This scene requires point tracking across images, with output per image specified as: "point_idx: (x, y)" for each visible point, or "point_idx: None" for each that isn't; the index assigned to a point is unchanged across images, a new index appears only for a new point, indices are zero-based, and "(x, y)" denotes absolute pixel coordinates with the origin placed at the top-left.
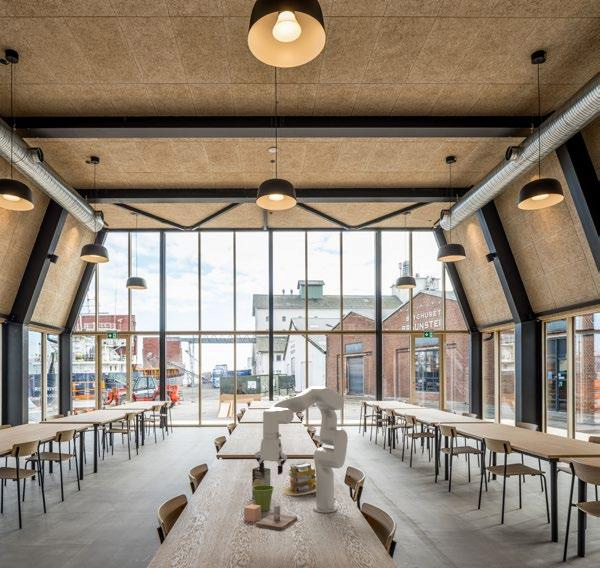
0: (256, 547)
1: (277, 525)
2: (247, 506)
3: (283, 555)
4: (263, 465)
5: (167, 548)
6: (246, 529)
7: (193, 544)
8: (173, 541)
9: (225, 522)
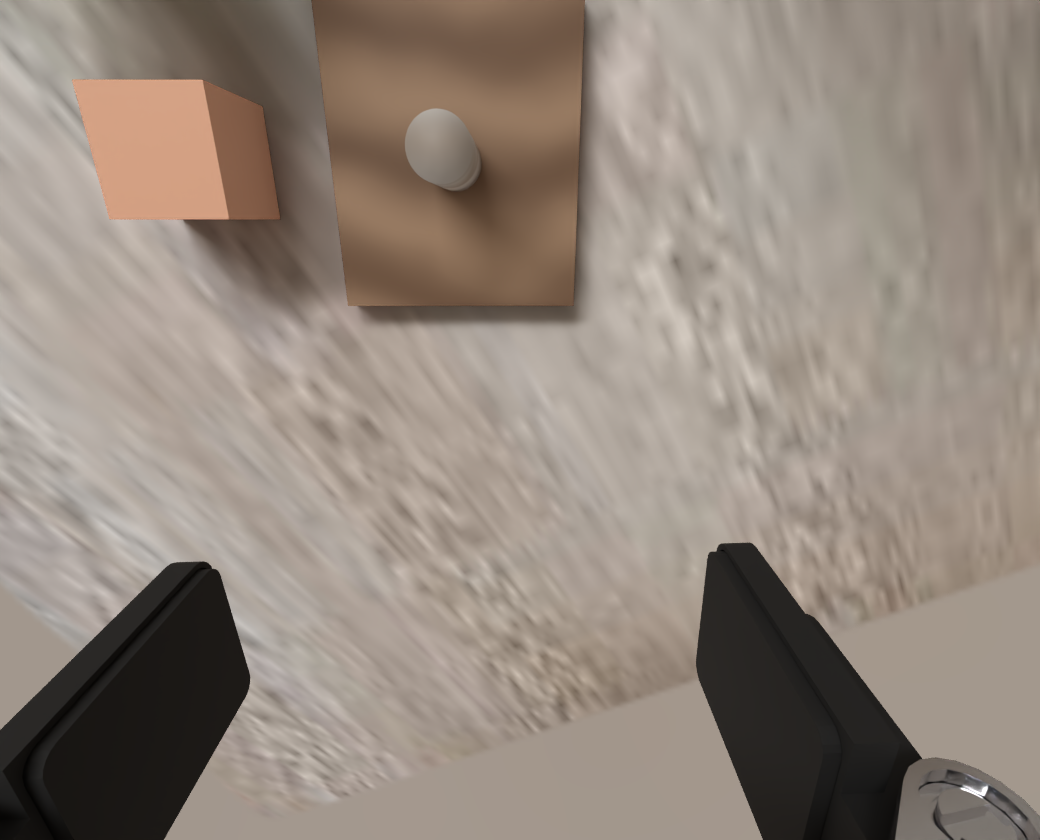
0: (558, 579)
1: (526, 285)
2: (110, 176)
3: None
4: (114, 736)
5: None
6: (337, 384)
7: None
8: None
9: (106, 330)
